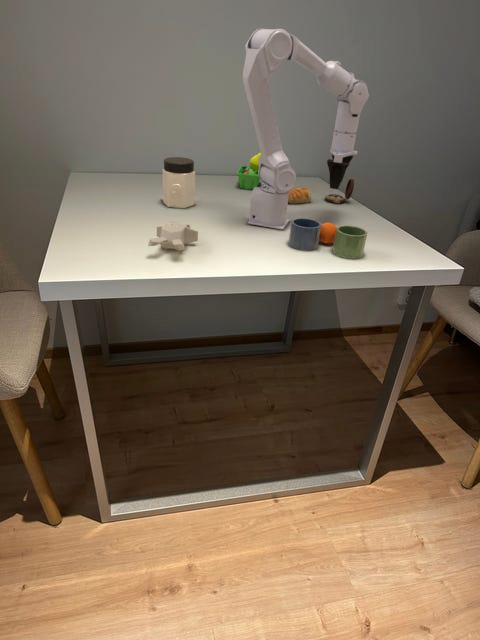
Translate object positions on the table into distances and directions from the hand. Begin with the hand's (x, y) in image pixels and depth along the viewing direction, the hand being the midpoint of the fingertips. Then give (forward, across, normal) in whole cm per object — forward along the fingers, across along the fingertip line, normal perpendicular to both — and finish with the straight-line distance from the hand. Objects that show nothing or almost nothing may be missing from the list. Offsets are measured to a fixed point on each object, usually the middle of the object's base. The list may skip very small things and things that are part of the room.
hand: (335, 185), depth 126 cm
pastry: (+10, +12, +12) cm, 19 cm away
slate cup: (+9, -24, +3) cm, 26 cm away
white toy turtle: (+10, -39, +30) cm, 50 cm away
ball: (+7, -19, -2) cm, 21 cm away
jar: (+10, -9, +42) cm, 44 cm away
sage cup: (+9, -24, -7) cm, 26 cm away
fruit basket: (+10, +21, +29) cm, 37 cm away
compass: (+10, +18, 0) cm, 20 cm away
